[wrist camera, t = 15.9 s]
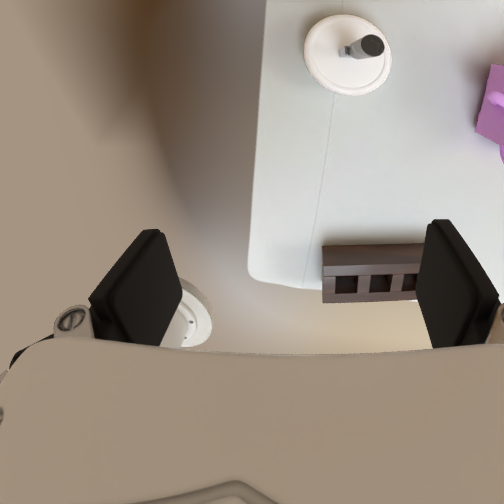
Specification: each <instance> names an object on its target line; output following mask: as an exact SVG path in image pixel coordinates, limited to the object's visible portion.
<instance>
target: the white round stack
mask: <svg viewBox="0 0 504 504" xmlns="http://www.w3.org/2000/svg"><path fill="white" fill-rule="evenodd" d="M369 34H373V35H376V36H378V37H379V38H381V39H382V41H383V43H384V46H385V48H384V52H383V53H382V54H381V55H380V56H377V57H371V58H365V59H359V60H358V59H354V58H340V56H339V49H340V48H342V47H344V46H349V45H350V44H351V43H353V42H355V41H357V40H358V39H360V38H362V37H364V36H366V35H369ZM304 60H305V63H306V66H307V68H308V70H309V72H310V74H311V75H312V76H313V78H314V79H315V80H316V81H317V82H318V83H320V84H321V85H322V86H323V87H325V88H327V89H328V90H330V91H332V92H335V93H338V94H342V95H348V96H357V95H363V94H367V93H369V92H371V91H373V90H375V89H377V88H378V87H379V86H380V85H381V84H382V83H383V82H384V81H385V80H386V78H387V76H388V74H389V72H390V68H391V51H390V47H389V44H388V42H387V40H386V38H385V37H384V35H383V34H382V33H381V31H380V30H379V29H378V28H377V27H376V26H374V25H373V24H372V23H370V22H369V21H367V20H365V19H363V18H360V17H357V16H353V15H347V14H339V15H333V16H329V17H326V18H324V19H322V20H320V21H319V22H317V23H316V24H315V25H314V26H313V27H312V28H311V29H310V31H309V32H308V34H307V36H306V39H305V42H304Z"/></svg>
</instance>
